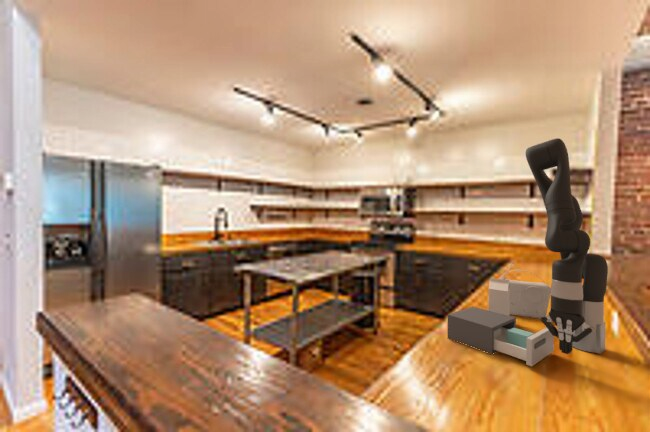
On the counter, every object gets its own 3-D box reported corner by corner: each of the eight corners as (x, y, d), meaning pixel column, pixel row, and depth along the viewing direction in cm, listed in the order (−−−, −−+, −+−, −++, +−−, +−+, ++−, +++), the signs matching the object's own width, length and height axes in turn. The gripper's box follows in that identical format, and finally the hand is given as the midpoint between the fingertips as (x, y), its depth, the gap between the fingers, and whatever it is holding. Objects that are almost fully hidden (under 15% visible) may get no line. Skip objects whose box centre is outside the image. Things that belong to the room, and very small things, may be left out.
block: (533, 348, 98) (533, 333, 98) (527, 352, 95) (527, 336, 95) (513, 341, 103) (513, 327, 103) (506, 345, 100) (507, 330, 100)
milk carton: (507, 327, 123) (507, 281, 123) (488, 323, 128) (488, 279, 128) (509, 322, 129) (509, 278, 129) (490, 318, 133) (491, 276, 133)
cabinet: (515, 342, 108) (515, 317, 108) (491, 354, 98) (491, 327, 98) (472, 328, 121) (472, 306, 121) (447, 338, 111) (447, 314, 111)
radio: (494, 313, 140) (495, 261, 140) (494, 309, 148) (494, 259, 148) (552, 321, 130) (552, 265, 130) (548, 316, 138) (548, 262, 138)
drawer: (554, 351, 99) (554, 327, 99) (532, 366, 88) (532, 340, 88) (502, 335, 112) (502, 314, 112) (478, 346, 102) (478, 323, 102)
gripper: (536, 292, 92) (535, 347, 92) (591, 302, 82) (591, 365, 82) (545, 289, 97) (544, 342, 97) (599, 298, 86) (598, 358, 86)
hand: (565, 352), depth 89 cm, fingers closed
